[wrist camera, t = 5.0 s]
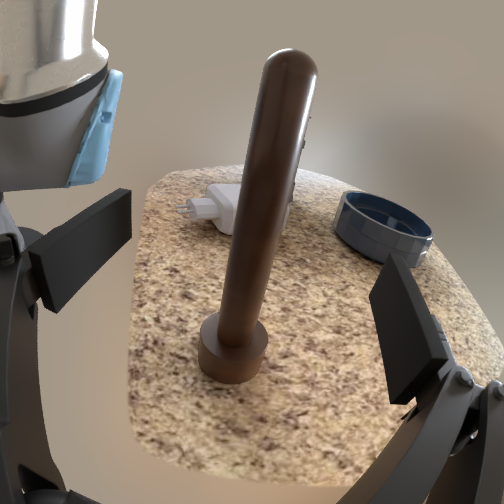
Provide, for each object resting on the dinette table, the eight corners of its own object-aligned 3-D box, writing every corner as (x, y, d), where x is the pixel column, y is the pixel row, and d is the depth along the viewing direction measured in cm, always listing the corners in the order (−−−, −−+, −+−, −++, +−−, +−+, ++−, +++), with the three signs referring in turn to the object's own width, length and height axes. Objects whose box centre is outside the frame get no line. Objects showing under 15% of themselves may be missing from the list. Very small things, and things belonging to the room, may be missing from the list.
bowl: (323, 244, 42) (335, 207, 39) (339, 211, 56) (347, 183, 53) (425, 285, 37) (443, 252, 34) (415, 241, 51) (426, 215, 48)
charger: (168, 211, 42) (255, 207, 49) (183, 242, 35) (284, 234, 42) (170, 182, 39) (260, 181, 46) (186, 207, 33) (291, 204, 40)
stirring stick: (185, 364, 20) (223, 32, 9) (217, 327, 24) (266, 53, 14) (244, 394, 19) (341, 46, 8) (269, 351, 23) (352, 70, 12)
